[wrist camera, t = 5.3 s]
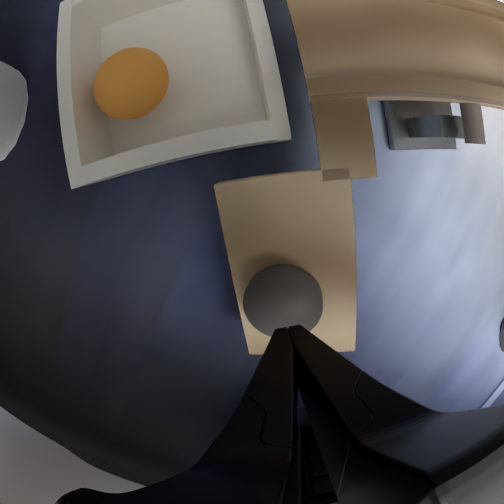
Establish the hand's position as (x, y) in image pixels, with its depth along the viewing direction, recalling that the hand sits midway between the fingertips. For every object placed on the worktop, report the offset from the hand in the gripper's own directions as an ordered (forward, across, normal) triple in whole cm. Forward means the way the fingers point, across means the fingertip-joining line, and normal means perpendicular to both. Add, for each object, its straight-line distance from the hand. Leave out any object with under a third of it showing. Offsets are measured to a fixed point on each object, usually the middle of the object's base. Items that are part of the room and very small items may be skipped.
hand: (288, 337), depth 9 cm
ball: (+4, +4, -10) cm, 11 cm away
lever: (+3, -11, -5) cm, 12 cm away
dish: (+6, +3, -11) cm, 12 cm away
